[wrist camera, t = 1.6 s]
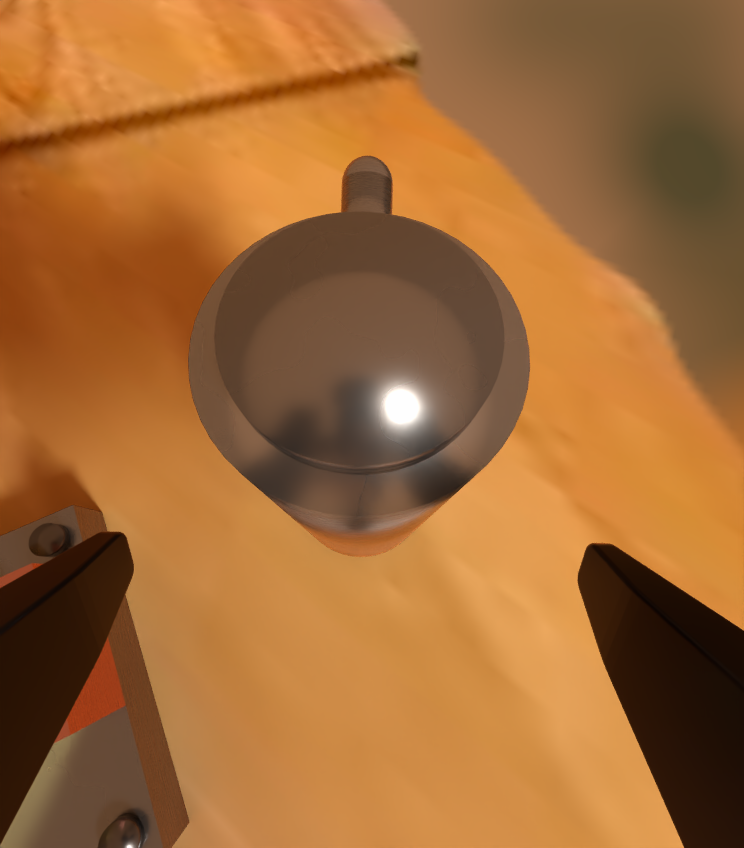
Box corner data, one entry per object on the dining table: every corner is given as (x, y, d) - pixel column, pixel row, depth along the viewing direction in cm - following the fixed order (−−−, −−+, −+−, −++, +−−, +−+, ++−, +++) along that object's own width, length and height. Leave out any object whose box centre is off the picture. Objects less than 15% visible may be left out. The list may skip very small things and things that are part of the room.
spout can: (425, 558, 19) (565, 514, 6) (293, 555, 19) (140, 504, 6) (422, 376, 21) (511, 75, 9) (307, 372, 21) (224, 64, 9)
